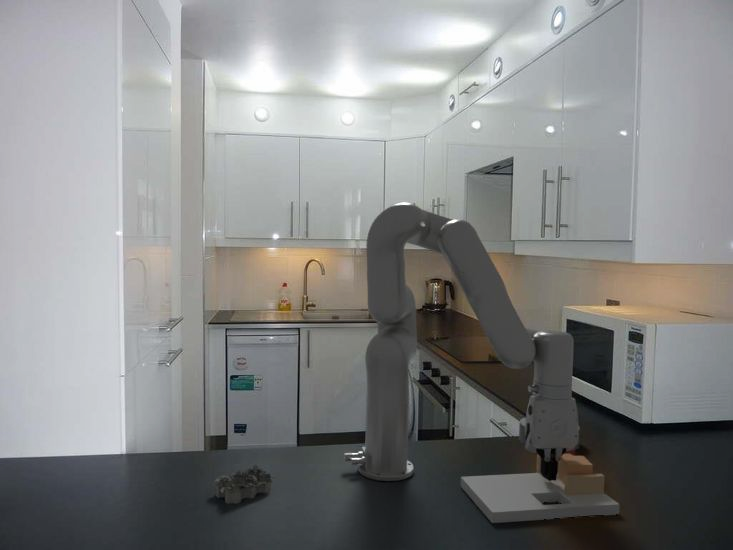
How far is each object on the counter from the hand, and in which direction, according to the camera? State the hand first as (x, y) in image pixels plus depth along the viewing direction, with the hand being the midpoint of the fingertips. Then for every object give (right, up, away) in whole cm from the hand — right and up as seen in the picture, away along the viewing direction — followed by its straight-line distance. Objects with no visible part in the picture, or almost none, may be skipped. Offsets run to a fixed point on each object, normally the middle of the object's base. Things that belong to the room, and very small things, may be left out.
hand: (548, 477), depth 112 cm
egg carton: (-63, -2, -4) cm, 63 cm away
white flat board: (-4, -3, -4) cm, 6 cm away
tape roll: (+11, -3, +32) cm, 34 cm away
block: (+5, -1, 0) cm, 6 cm away
